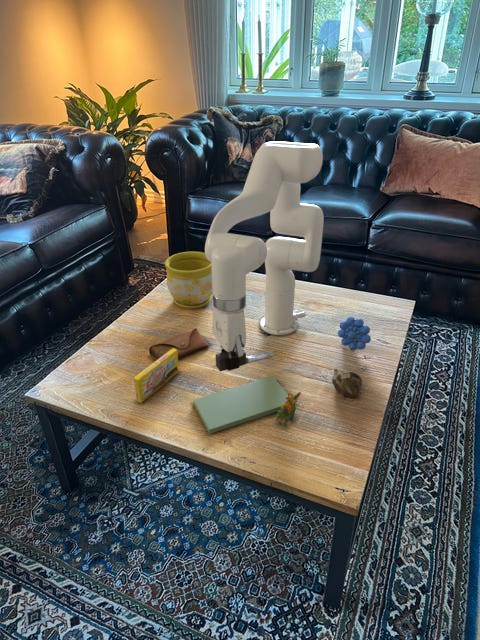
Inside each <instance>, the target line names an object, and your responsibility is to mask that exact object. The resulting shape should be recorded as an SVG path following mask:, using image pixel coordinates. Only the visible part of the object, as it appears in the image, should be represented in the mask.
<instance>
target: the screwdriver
mask: <svg viewBox="0 0 480 640" xmlns="http://www.w3.org/2000/svg"><path fill="white" fill-rule="evenodd" d="M242 350H243V356H242V357H240V367H241V366H245V365H248V364H251V363H254V362H255V363H256V362H258V361H263V360H265V359H269V358H273V357H274V352H273V351H271V350H265V351H261V352H258V353H255V354H251V355H248V354H247V352H246V351H245V350H244V348H242ZM234 351H236V349H233V350H232V352H234ZM227 356H228V352H227V351H226V352H222V353H221V352H218V353H215V366H216V369H218V371H219V372H224V371H228V370H227Z"/></svg>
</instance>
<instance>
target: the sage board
mask: <svg viewBox="0 0 480 640" xmlns="http://www.w3.org/2000/svg"><path fill="white" fill-rule="evenodd" d="M286 397H288V393H287V391H286V390H285V388H284V387H283V386H282V385H281V384H280V383H279V382H278V380H277V379H276V378H275V377H274V375H272V376H268V377H264V378H261V379H257V380H254V381H251V382H248V383H244V384H241V385H238V386H234V387H231V388H228V389H224V390H221V391H217V392H215V393H212V394H208V395H205V396H201V397H198V398H195V399H193V400H192V403H193V406H194V408H195V409H196V411H197V413H198V415H199V417H200V419H201V421H202V422H203V424H204V426H205V428H206V430H207V432H208V434H209V435H211V434H214V433H217V432H221V431H224V430H226V429H229V428H232V427H236V426H239V425H241V424H244V423H247V422H250V421H254V420H256V419H259V418H263V417H265V416H268V415H271V414H274V413H278V410H279V411H280V409H281V407H282V406H283V405H284V404H285V402H286V401H287V400H288V399H287V400H286ZM289 397H291V395H289ZM290 400H291V399H290Z"/></svg>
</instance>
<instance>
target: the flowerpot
mask: <svg viewBox="0 0 480 640" xmlns="http://www.w3.org/2000/svg"><path fill="white" fill-rule="evenodd" d="M164 268H165V270H166V271H165V272H166V285H167V289H168V292H169V294H170V296H172V298H173V302H174V303H175V304H176V305H177V306H178V307H180V308H183V309H187V310H196V309H201V308H203V307H205V306H207V305H209V303H210V302H211V301H212V299H213V291H212V267H211V262H210V261H209V260H208V259H207V258H206V255H205V252H202V251H183V252H179V253H175V254H172V255H171V256H169V257H168V258H166V260H164Z"/></svg>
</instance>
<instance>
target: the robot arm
mask: <svg viewBox="0 0 480 640" xmlns="http://www.w3.org/2000/svg"><path fill="white" fill-rule="evenodd" d="M323 161H324V156H323V151H322V148H321V146H319V145H318V144H316V143H306V142H305V143H304V142H292V141H291V142H290V141H268V142H264V143H262V144H261V145H260V147H259V148H258V150H257V151H256V152H255V155H254V157H253V159H252V162H251V165H250V169H249V171H248V174H247V178H246V180H245V183H244V186H243V189H242V192H241V193H240V194H239V195H238V196H236V197H234V198H233V199H232V200H230V201H229V202H228V203H226V204H225V205H224V206H223V207H222V208H221V209H220V210H219V211H218V212H217V213H216V215H215V216H214V217H213V220H212V222H211V225H210V228H209V230H208V233H207V236H206V240H205V244H204V253H205V255H206V258H207V259H208V260H209V261H210V262H211V267H212V291H213V293H212V333H213V336H214V337H215V339H216V340H217V342H218V343H219V344H220V348H221V349H220V353H222V352H226V351H227V352H228V356H227V370H226V371H228V372H229V371H233V370H237V369H239V368H240V367H241V366H240V357H242V356H243V350H244V349H245V348H246V344H247V331H246V329H247V328H246V327H247V326H246V316H245V311H244V310H245V309H246V308H247V307H246V306H247V274H249V273H252V272H254V271H256V270H258V269H260V267H261V266H262V265H263V264H264V267H265V295H264V297H265V298H264V316H263V317H262V318H261V319H260V322H259V326H260V328H261V330H262V331H264V332H265V333H267V334H269V335H272V336H273V335H274V336H285V335H286V336H287V335H289V334H292V333H293V332H295V331H296V330H297V328H298V322H297V320H298V319H302V318H303V319H304V318H306V311H301V312H299V310H298V309H294V307H295V292H296V291H295V290H296V277H295V275H294V271H298V272H304V273H313V272H315V271H316V270H317V269H318V268H319V265H320V260H321V255H322V243H323V234H324V233H323V232H324V219H325V218H324V212H323V209H322V208H321V207H320V206H318V205H315V204H310V203H302V202H301V187H302V186H301V184H305V183H308V182H310V181H311V180H313V179H315V178H316V177H317V176H318V175H319V173H320V171H321V169H322V166H323ZM267 213H269V224H270V225H269V226H270V229H271V230H272V232H274V233H277V234H280V235H285V236H273V237H269V238H268V239H267V240H266V241H264V240H263V239H261V238H260V237H257V236H250V235H244V234H238V233H237V234H236V233H231V232H229V231H230V230H231V229H232V228H233V227H234V226H235V225H237V224H239V223H241V222H244V221H246V220H250V219H253V218H256V217H260V216H263V215H265V214H267ZM286 235H287V236H294V237H302V238H303V239H299V238H294V237H286ZM233 349H236V351H234V352H232V350H233ZM242 349H243V350H242Z"/></svg>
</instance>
